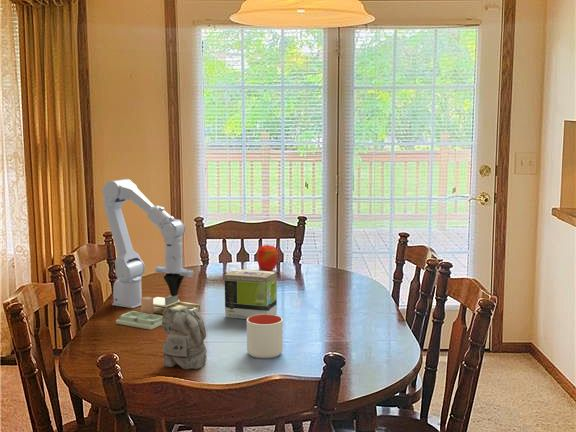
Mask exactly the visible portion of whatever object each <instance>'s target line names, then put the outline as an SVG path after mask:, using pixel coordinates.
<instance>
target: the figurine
mask: <svg viewBox="0 0 576 432" xmlns="http://www.w3.org/2000/svg"><path fill="white" fill-rule="evenodd" d="M161 316H162V325H161V326H162V331H163V332H164V334H167V336H166V340H165V341H164V342H162V354H163V357H164V358H163V366H165V367H168V368H173V367H174V366H176V365H178V366H179V367H181V368H182V369H184V370H198V369H200V368H202V367H203V366H204V365H205V364H206V362H207V351H208V350H207V348H206V346H205V343H204V340H205V339H206V338H207V330H206V325H205V321H204V319H203V316H202V315H201V313H200V312H199V311H196V310H193V311H191V310H189V309H187V308H186V309H181V310H176V309H171V308H167V309H165V310H164V312H163V314H162V315H161Z"/></svg>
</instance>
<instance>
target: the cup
mask: <svg viewBox="0 0 576 432" xmlns="http://www.w3.org/2000/svg"><path fill="white" fill-rule="evenodd" d="M283 328H284V323H283V318H282V317H281V316H278V315H277V314H276V315H270V314H261V315H254V316H251V317H249V318H247V319H246V352H247V354H248V355H249V356H252V357H253V358H257V359H273V358H276V357H278V356H280V355H281V354H282V353H283V349H284V348H283V347H284V341H283V337H284V336H283V335H284V331H283V330H284V329H283Z"/></svg>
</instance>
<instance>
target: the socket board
mask: <svg viewBox="0 0 576 432" xmlns="http://www.w3.org/2000/svg"><path fill="white" fill-rule="evenodd" d="M162 316H163V315H161V314H156V313H155V314H148V313H143V312H141V311H135V310H131V311H128V312H126V313H123V314H121V315H119V317H118V319H116V320H115V324H118V325H122V326H123V325H124V326H129V327H135V328H140V329H147V330H150V331H151V330H153V329H156V328H157V327H160V326H162Z"/></svg>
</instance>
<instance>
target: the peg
mask: <svg viewBox="0 0 576 432" xmlns="http://www.w3.org/2000/svg"><path fill="white" fill-rule="evenodd" d="M153 298H154V297H153V296H142V298H141V305H140V312H143V313H148V314H154V313H155V312H154V309H153V306H154V305H153Z"/></svg>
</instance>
